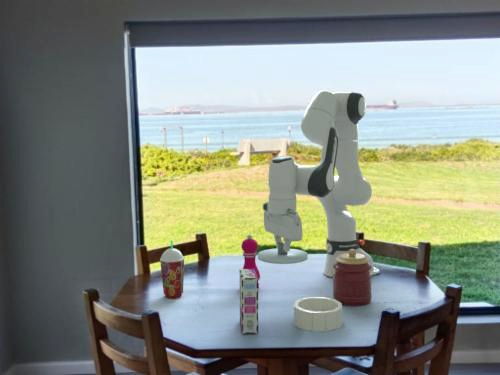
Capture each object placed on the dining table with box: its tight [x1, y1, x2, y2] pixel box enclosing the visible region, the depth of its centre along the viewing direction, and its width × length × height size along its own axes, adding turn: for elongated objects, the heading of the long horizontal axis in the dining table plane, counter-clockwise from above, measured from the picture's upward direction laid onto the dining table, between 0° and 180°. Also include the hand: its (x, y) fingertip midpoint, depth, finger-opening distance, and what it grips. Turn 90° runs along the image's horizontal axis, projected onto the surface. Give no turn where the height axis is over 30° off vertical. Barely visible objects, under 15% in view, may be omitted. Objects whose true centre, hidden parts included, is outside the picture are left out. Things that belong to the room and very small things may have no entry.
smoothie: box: [159, 240, 185, 300], centre depth 183 cm, size 8×8×20 cm
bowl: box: [293, 296, 343, 332], centre depth 157 cm, size 14×14×6 cm
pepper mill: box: [241, 234, 261, 290], centre depth 190 cm, size 7×7×20 cm
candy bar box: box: [238, 268, 259, 335], centre depth 153 cm, size 11×5×16 cm, turn 5°
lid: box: [257, 241, 309, 265], centre depth 168 cm, size 16×16×5 cm
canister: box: [332, 249, 373, 307], centre depth 176 cm, size 13×13×18 cm
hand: (282, 249), depth 168 cm, fingers closed on lid, 3 cm apart
